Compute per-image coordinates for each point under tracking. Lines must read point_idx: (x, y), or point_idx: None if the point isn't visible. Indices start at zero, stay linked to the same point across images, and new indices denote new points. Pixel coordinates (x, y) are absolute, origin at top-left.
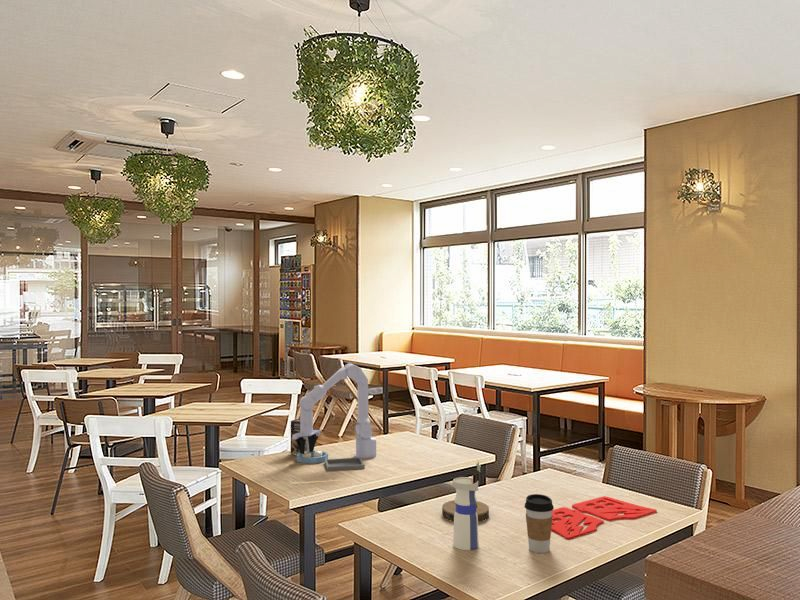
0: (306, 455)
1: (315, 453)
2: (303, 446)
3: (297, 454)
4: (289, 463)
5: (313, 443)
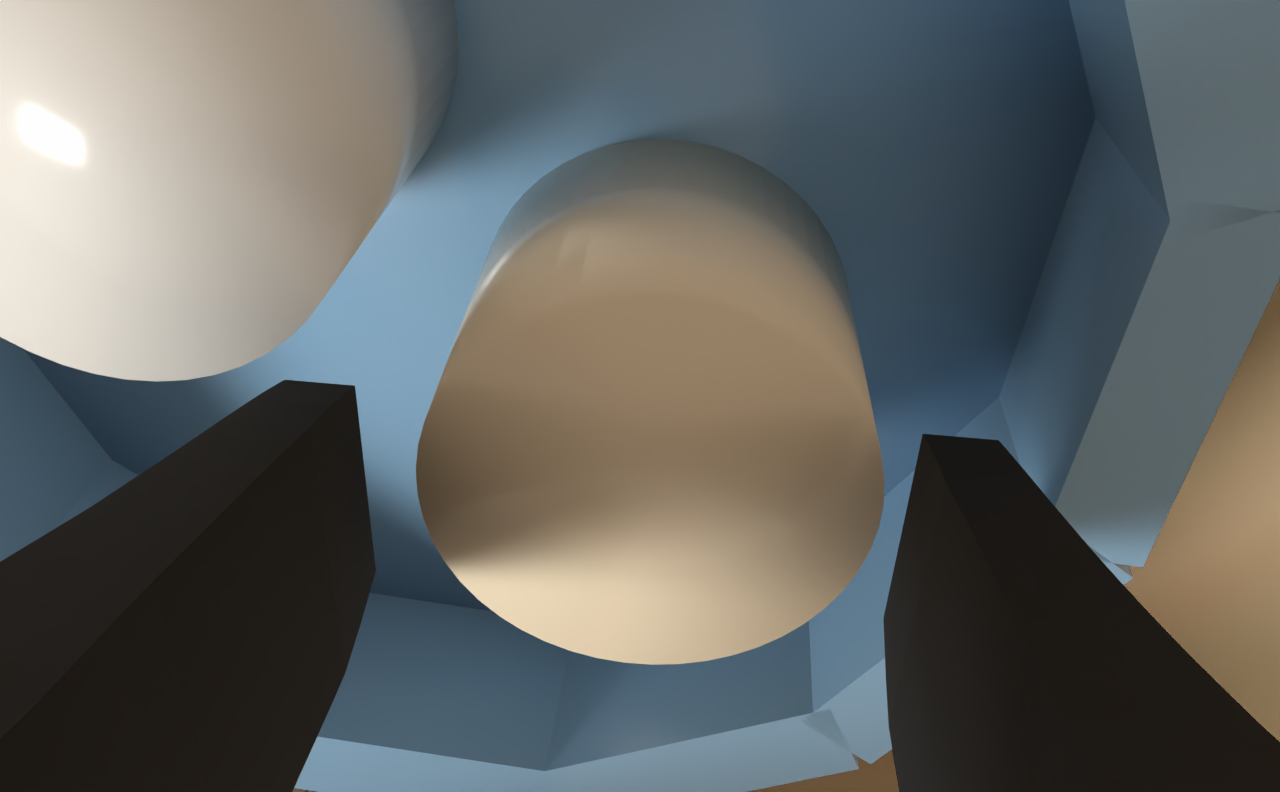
0: (812, 313)
1: (343, 65)
2: (1210, 745)
3: (883, 721)
4: (1274, 533)
5: (49, 689)
